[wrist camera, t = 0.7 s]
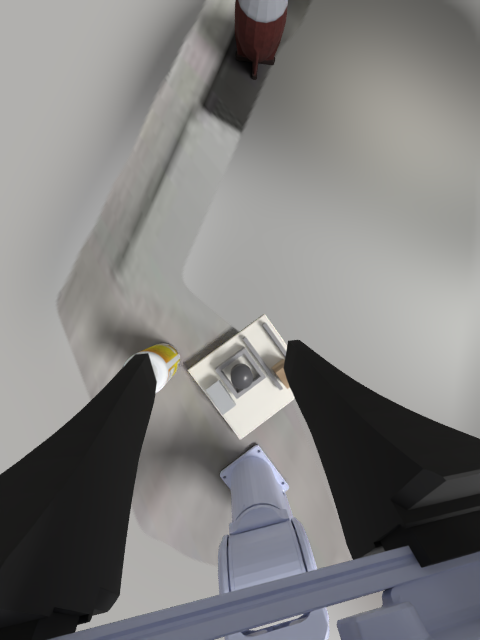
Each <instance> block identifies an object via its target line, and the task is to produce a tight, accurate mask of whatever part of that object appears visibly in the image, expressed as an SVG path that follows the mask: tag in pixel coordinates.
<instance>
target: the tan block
mask: <svg viewBox="0 0 480 640" xmlns="http://www.w3.org/2000/svg"><path fill="white" fill-rule="evenodd" d="M284 362H285V360H284V359H282V360H281V361H279V362H278V363H277V364H275V365H274V366H273V367H271V368H272V370H273V371H274V372H275V374H276V375H277V376H278V378H279V379H280V381H281V382H282V383H283V384H284V386H285V387H286V388H287V389H288V388H290V387H289V384H288V381H287V378H286V375H285V372H284V369H283V367H284Z"/></svg>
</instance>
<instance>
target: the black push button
mask: <svg viewBox="0 0 480 640" xmlns="http://www.w3.org/2000/svg"><path fill="white" fill-rule="evenodd" d="M231 382H232V384H233V385H234V386H235V387H236V388H238V389H246V388H248V387H249V386H250V385H251V384H252V382H253V374H252V371H251V369H250V368H249V366H247V365H246V364H243V363H240V364H237V365H235V366H234V367H233V368H232V370H231Z"/></svg>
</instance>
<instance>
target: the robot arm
mask: <svg viewBox="0 0 480 640" xmlns="http://www.w3.org/2000/svg"><path fill="white" fill-rule="evenodd" d="M283 369H284V372H285V375H286V378H287V381H288V384H289V387H290V389H291V391H292V393H293V395H294V397H295V399H296V402H297V403H298V405H299V408H300V410H301V412H302V414H303V416H304V418H305V420H306V422H307V425H308V427H309V429H310V432H311V434H312V436H313V439H314V442H315V445H316V448H317V450H318V453H319V456H320V459H321V462H322V465H323V468H324V470H325V473H326V476H327V479H328V483H329V486H330V489H331V492H332V495H333V498H334V502H335V505H336V508H337V512H338V515H339V519H340V522H341V525H342V529H343V533H344V536H345V540H346V544H347V546H348V549H349V551H350V554H351V556H352V558H353V560H351V561H347V562H343V563H339V564H335V565H332V566H328V567H324V568H320V569H317V567H316V563H315V560H314V556H313V553H312V549H311V546H310V543H309V540H308V537H307V535H306V532H305V529H304V527H303V525H302V523H301V522H299V521H298V520H297V518H295V517H293V514H292V511H291V508H290V505H289V502H288V500H287V497H286V494H285V492H286V491H287V490H288V489H289V486H288V484H287V482H286V481H285V480H284V478H283V477H282V476H281V474H280V473H279V472H278V470H277V469H276V468H275V466H274V465H273V464H272V462H271V461H270V460H269V458H268V457H267V456H266V454H265V453H264V452H263V450H262V449H261V448H260V446H259V445H255V446H254V447H252V448H251V449H250V450H248V451H247V452H246V453H244V454H243V455H242V456H240V457H239V458H238V459H236V460H235V461H234V462H233V463H231V464H230V465H229V466H227V467H226V468H225V469H223V470H222V471H221V472H220V477H221V478H222V480H223V481H224V482H225V483H226V485H227V486H228V487H229V489H230V490H231V505H232V523H230V524H229V535H230V536H229V535H224V536H223V538H222V541H221V543H220V545H219V551H218V579H219V594H220V595H216V596H213V597H209V598H205V599H201V600H197V601H193V602H190V603H186V604H182V605H178V606H174V607H170V608H167V609H163V610H159V611H155V612H151V613H147V614H144V615H140V616H136V617H132V618H128V619H124V620H121V621H117V622H113V623H110V624H105V625H101V626H98V627H94V628H90V629H86V630H82V631H78V632H75V631H76V627H77V625H79V624H83V623H87V622H90V620H91V618H92V616H93V615H97V614H101V613H105V612H108V611H109V610H110V608H111V607H112V606H113V604H114V603H115V602H116V600H117V598H118V597H119V595H120V587H121V578H122V569H123V561H124V553H125V544H126V537H127V530H128V523H129V515H130V509H131V503H132V496H133V490H134V484H135V478H136V472H137V467H138V461H139V457H140V452H141V448H142V444H143V441H144V437H145V433H146V430H147V426H148V423H149V419H150V415H151V411H152V408H153V404H154V399H155V392H156V385H157V381H156V377H155V374H154V371H153V367H152V364H151V360H150V357H149V354H148V353H144V354H135V355H134V356H133V357H132V358H131V359H130V360H129V361H128V363H127V364H126V365H125V366H124V367H123V368H122V369H121V370H120V371H119V372H118V373H117V375H116V376H115V377H114V378H113V379H112V380H111V381H110V382H109V383H108V384H107V385H106V386H105V387H104V388H103V389H102V390H101V391H100V392H99V393H98V394H97V395H96V396H95V397H94V398H93V399H92V400H91V401H90V402H89V403H88V404H87V405H86V406H85V407H84V408H83V409H82V410H81V411H80V412H79V413H77V414H76V415H75V416H74V417H73V418H72V419H71V420H70V421H68V422H67V423H66V424H65V425H64V426H63V427H62V428H60V429H59V430H58V431H57V432H55V433H54V434H53V435H52V436H51V437H49V438H48V439H47V440H46V441H44V442H43V443H42V444H41V445H39V446H38V447H37V448H35V449H34V450H33V451H31V452H30V453H29V454H27V455H26V456H25V457H24V458H22V459H21V460H20V461H18V462H17V463H16V464H14V465H13V466H12V467H10V468H9V469H7V470H6V471H5V472H3V473H2V474H1V475H0V640H214V639H218V638H221V637H225V640H328V638H329V616H328V613H327V609H326V607H328V606H331V605H334V604H338V603H342V602H345V601H349V600H352V599H355V598H359V597H362V596H366V595H369V594H373V593H376V592H380V591H383V590H385V591H383V594H382V600H383V605H382V607H381V608H377V609H373V610H370V611H366V612H362V613H359V614H356V615H353V616H350V617H347V618H344V619H341V620H338V621H337V628H338V631H339V634H340V637H341V640H480V439H479V438H476V437H474V436H471V435H468V434H466V433H463V432H461V431H458V430H455V429H453V428H450V427H448V426H445V425H443V424H440V423H438V422H436V421H433V420H431V419H429V418H426V417H424V416H422V415H420V414H417V413H415V412H413V411H411V410H409V409H406V408H405V407H403V406H401V405H399V404H396V403H395V402H393V401H391V400H389V399H387V398H385V397H383V396H381V395H379V394H377V393H376V392H374V391H372V390H370V389H369V388H367V387H365V386H364V385H362V384H360V383H358V382H357V381H355V380H354V379H352V378H351V377H349V376H348V375H346V374H345V373H343V372H342V371H340V370H339V369H337V368H336V367H334V366H333V365H332V364H330V363H329V362H327V361H326V360H325V359H324V358H322V357H321V356H320V355H318V354H317V353H316V352H314V351H313V350H311V349H310V348H309V347H308V346H307V345H305V344H304V343H303V342H301V341H300V340H292V341H288V345H287V351H286V356H285V362H284V367H283ZM258 450H260V451H258ZM224 476H226V477H224ZM282 482H283V483H282ZM300 614H303V615H302V616H301V617H299V618H298V619H295V620H291V621H287V622H284V623H281V624H277V625H274V626H270V627H267V628H264V629H260V630H257V631H253V630H252V631H251V630H249V629H252V628H256V627H259V626H262V625H266V624H270V623H273V622H276V621H280V620H283V619H286V618H290V617H294V616H297V615H300Z"/></svg>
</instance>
